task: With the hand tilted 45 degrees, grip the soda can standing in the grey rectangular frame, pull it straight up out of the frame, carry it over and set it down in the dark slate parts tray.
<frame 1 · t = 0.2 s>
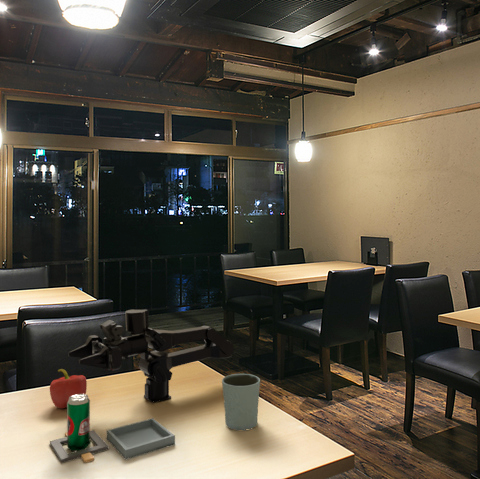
hand: (73, 358, 122), 17 cm above the table, tool horizontal, fingers open, 9 cm apart
vegetable: (68, 406, 132), on the table
grey-green cup: (240, 424, 120), on the table
grey rectangular frame: (78, 446, 107), on the table
soda can: (78, 447, 107), resting in grey rectangular frame
parts tray: (140, 441, 109), on the table
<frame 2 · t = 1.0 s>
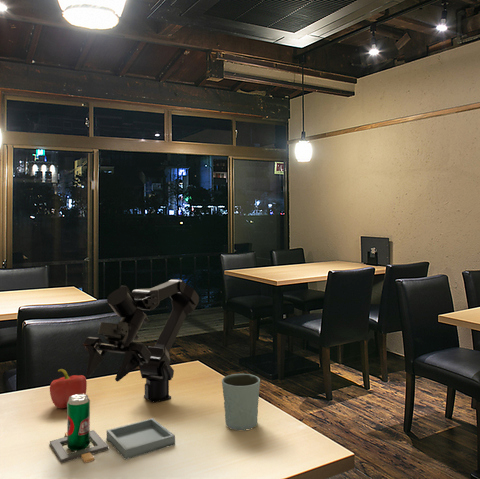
hand: (101, 378, 114), 14 cm above the table, tool tilted 45°, fingers open, 9 cm apart
nothing on the table moved.
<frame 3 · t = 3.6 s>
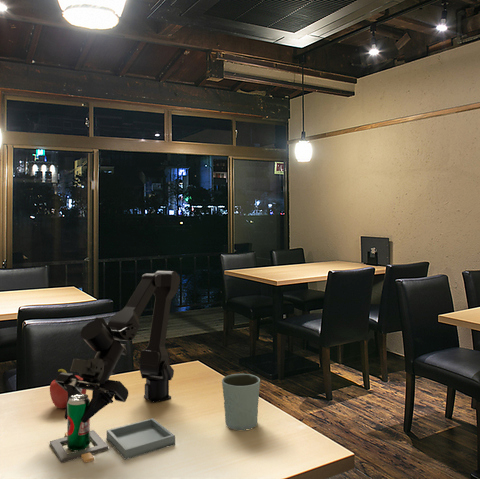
hand: (74, 420, 105), 7 cm above the table, tool tilted 45°, fingers closed on soda can, 5 cm apart
soda can: (78, 447, 107), resting in grey rectangular frame, touching gripper
everything else where it was.
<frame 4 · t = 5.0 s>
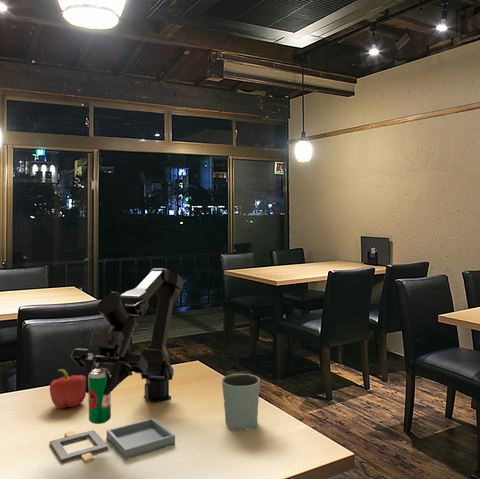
hand: (96, 393, 105), 13 cm above the table, tool tilted 45°, fingers closed on soda can, 5 cm apart
soda can: (99, 420, 107), point 6 cm above the table, touching gripper
everything else where it was.
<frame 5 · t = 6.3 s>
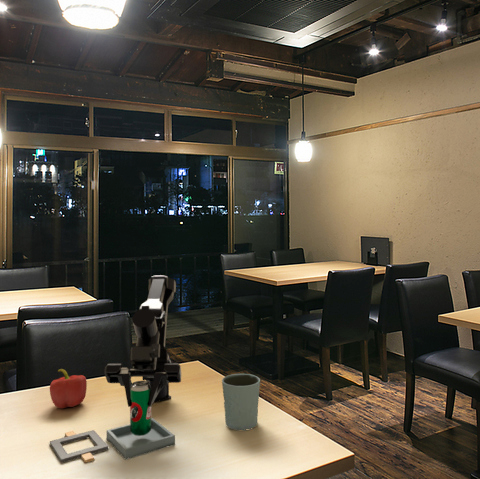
hand: (139, 406, 108), 9 cm above the table, tool tilted 45°, fingers closed on soda can, 5 cm apart
soda can: (140, 432, 110), point 2 cm above the table, touching gripper
everything else where it was.
when the fingers open (9 cm above the table, at t = 6.8 s): soda can stays where it is, resting on parts tray.
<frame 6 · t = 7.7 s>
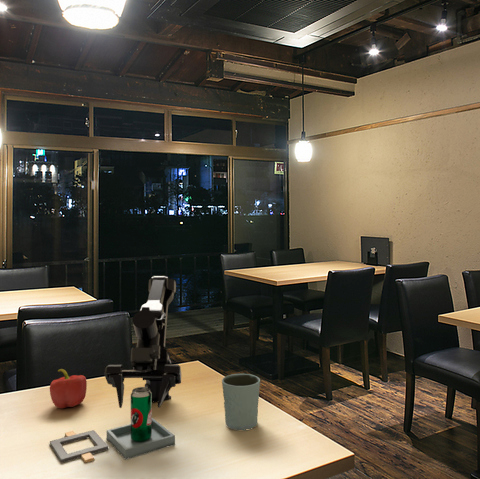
hand: (139, 407, 108), 9 cm above the table, tool tilted 45°, fingers open, 9 cm apart
soda can: (141, 439, 110), resting on parts tray
everything else where it was.
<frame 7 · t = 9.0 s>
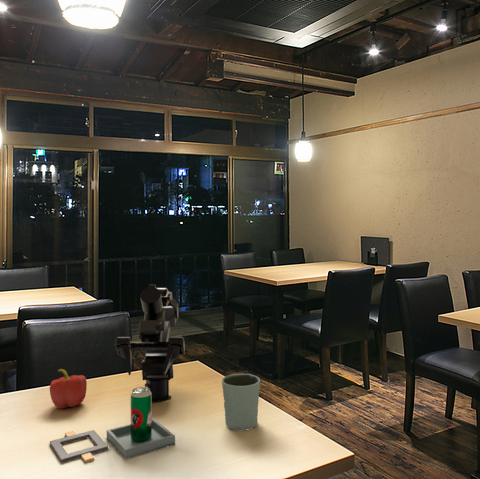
hand: (146, 374, 118), 14 cm above the table, tool tilted 45°, fingers open, 9 cm apart
nothing on the table moved.
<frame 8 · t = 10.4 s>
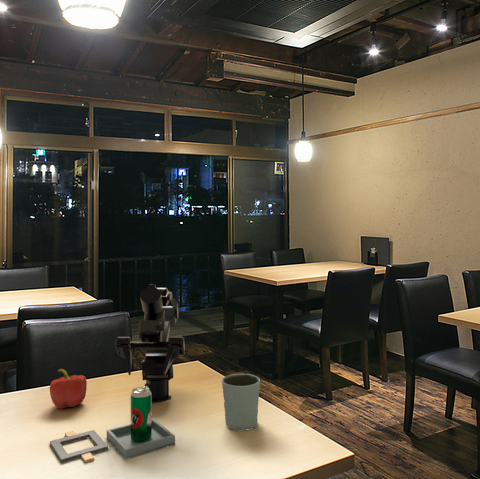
hand: (146, 374, 118), 14 cm above the table, tool tilted 45°, fingers open, 9 cm apart
nothing on the table moved.
at the end: soda can inside the target area on the parts tray (0.4 cm from its centre), point 0.4 cm above the parts tray's base; the gripper is holding nothing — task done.
